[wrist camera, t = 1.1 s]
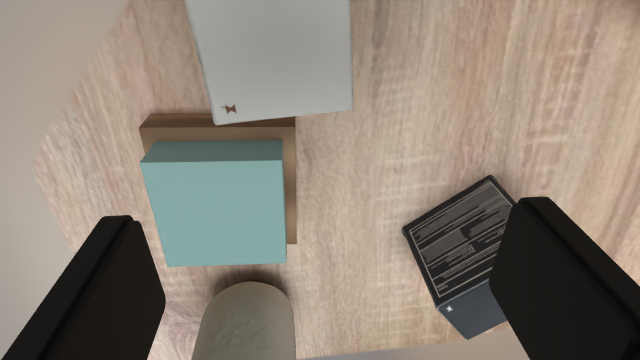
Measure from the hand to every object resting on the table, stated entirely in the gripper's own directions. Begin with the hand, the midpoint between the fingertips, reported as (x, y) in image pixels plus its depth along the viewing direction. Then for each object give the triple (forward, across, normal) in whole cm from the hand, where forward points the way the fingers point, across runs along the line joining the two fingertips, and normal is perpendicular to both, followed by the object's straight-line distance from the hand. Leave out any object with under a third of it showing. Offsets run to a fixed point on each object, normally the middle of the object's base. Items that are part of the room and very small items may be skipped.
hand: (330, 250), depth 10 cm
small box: (+23, -16, +18) cm, 33 cm away
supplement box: (+23, +2, -3) cm, 24 cm away
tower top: (+20, +7, +11) cm, 24 cm away
